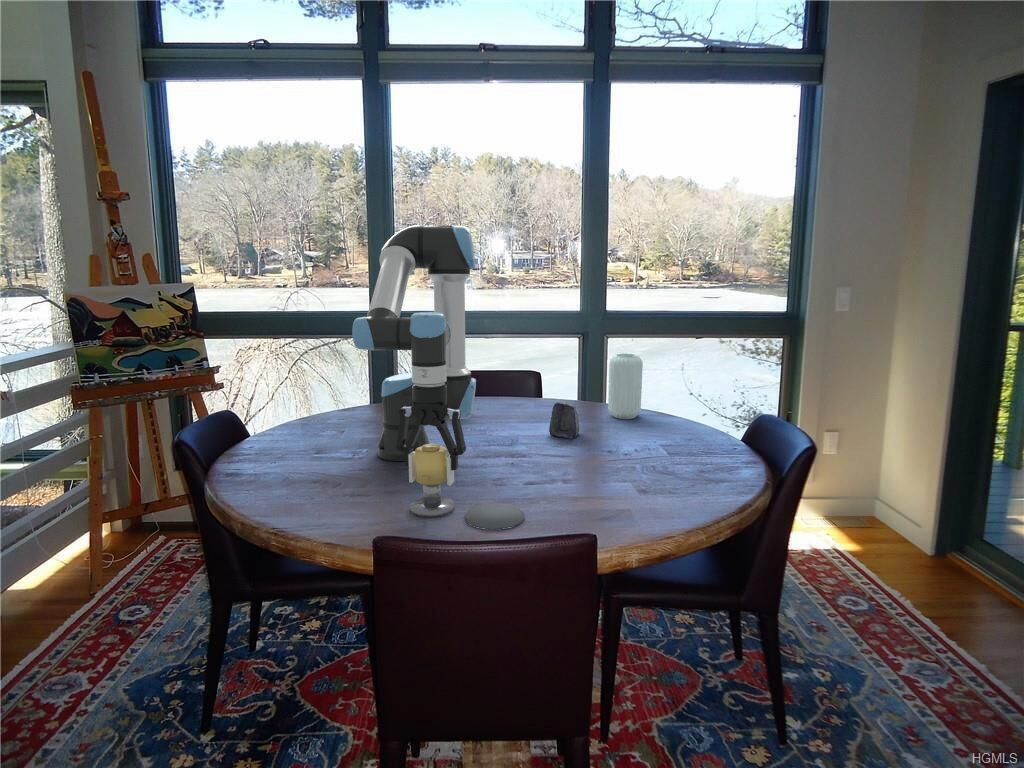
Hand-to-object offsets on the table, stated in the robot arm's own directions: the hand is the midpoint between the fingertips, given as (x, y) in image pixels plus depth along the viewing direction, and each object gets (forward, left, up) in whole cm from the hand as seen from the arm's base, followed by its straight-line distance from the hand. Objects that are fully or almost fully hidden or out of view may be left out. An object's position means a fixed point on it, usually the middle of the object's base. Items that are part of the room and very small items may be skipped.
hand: (431, 481), depth 147 cm
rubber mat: (+15, -2, -7) cm, 16 cm away
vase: (+38, +97, -7) cm, 104 cm away
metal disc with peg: (0, 0, -7) cm, 7 cm away
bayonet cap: (0, 0, +1) cm, 1 cm away
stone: (+21, +69, -7) cm, 72 cm away
